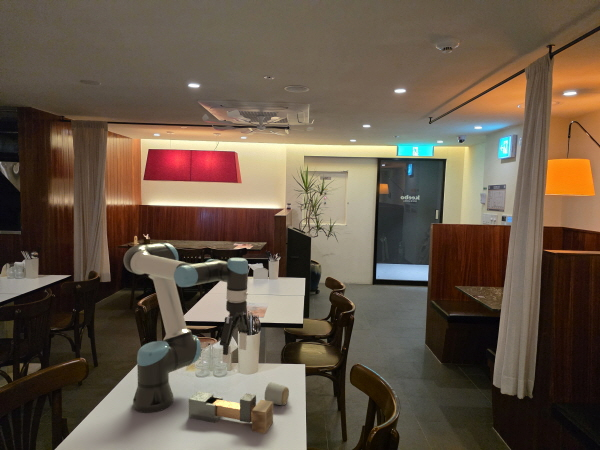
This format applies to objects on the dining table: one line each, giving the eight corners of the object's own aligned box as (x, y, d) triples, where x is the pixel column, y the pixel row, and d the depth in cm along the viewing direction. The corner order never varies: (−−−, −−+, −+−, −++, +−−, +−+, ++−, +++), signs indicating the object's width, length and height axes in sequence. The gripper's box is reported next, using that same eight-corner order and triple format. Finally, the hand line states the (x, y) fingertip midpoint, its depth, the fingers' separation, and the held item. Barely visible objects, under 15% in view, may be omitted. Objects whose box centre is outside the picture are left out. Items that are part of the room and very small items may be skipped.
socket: (252, 431, 147) (252, 410, 146) (260, 419, 154) (261, 399, 154) (264, 433, 145) (265, 412, 145) (272, 422, 153) (273, 401, 153)
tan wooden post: (211, 415, 153) (211, 394, 152) (218, 409, 158) (218, 388, 157) (261, 425, 147) (261, 403, 147) (267, 417, 152) (267, 396, 152)
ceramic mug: (283, 409, 163) (283, 389, 162) (263, 405, 165) (264, 386, 165) (292, 397, 173) (292, 379, 172) (274, 394, 175) (274, 376, 175)
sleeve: (188, 417, 155) (188, 398, 155) (197, 409, 161) (197, 391, 161) (214, 422, 152) (214, 403, 152) (222, 414, 158) (222, 395, 158)
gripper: (230, 310, 141) (228, 370, 143) (259, 293, 165) (257, 345, 167) (210, 307, 144) (209, 366, 145) (242, 291, 167) (240, 342, 169)
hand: (234, 355), depth 156 cm, fingers open, 13 cm apart
